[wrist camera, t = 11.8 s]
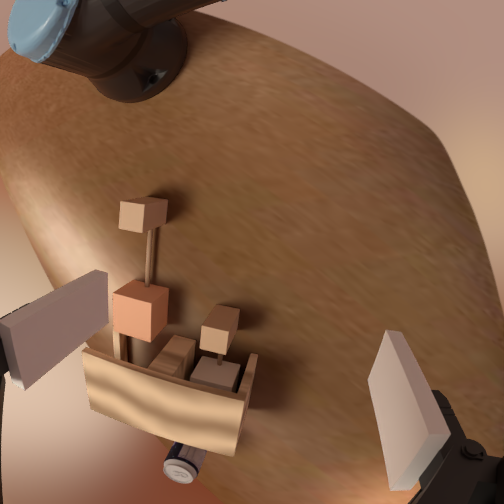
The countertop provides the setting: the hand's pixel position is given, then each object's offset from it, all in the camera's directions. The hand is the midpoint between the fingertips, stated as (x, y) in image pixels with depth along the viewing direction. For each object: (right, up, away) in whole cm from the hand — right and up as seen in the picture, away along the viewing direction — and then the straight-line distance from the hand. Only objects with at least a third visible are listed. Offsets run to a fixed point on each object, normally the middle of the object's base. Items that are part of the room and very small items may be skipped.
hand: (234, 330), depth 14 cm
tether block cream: (-4, -11, +33) cm, 35 cm away
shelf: (-10, -15, +35) cm, 40 cm away
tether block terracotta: (-14, +2, +32) cm, 35 cm away
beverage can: (-9, -28, +38) cm, 48 cm away
